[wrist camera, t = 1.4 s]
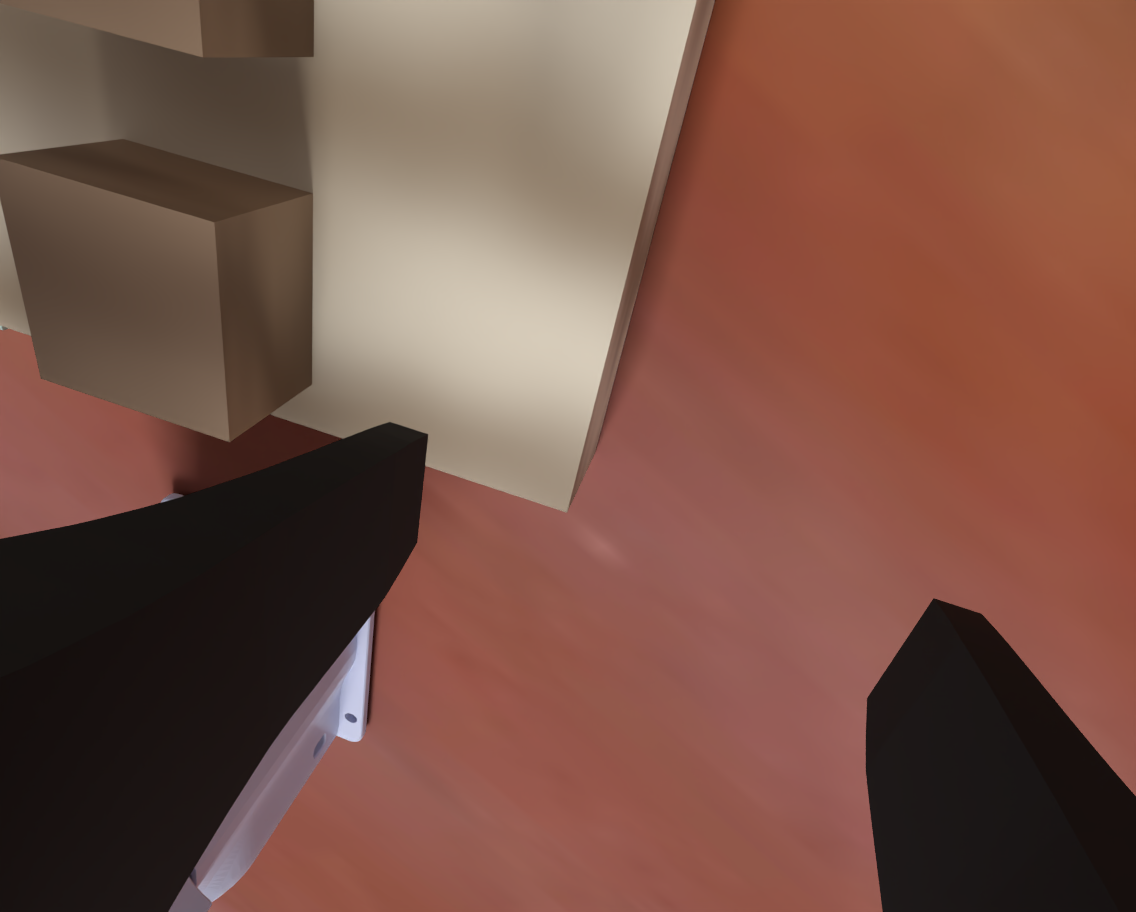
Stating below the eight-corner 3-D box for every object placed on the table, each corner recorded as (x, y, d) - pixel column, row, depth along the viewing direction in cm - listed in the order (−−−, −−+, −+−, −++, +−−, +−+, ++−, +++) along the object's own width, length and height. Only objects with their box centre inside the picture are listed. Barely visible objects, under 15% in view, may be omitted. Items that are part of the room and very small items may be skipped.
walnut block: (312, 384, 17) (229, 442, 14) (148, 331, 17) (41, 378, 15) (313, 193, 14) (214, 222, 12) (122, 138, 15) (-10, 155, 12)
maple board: (594, 452, 19) (567, 512, 17) (90, 292, 21) (-3, 324, 19) (776, -232, 12) (774, -310, 9) (-27, -387, 14) (-209, -487, 11)
